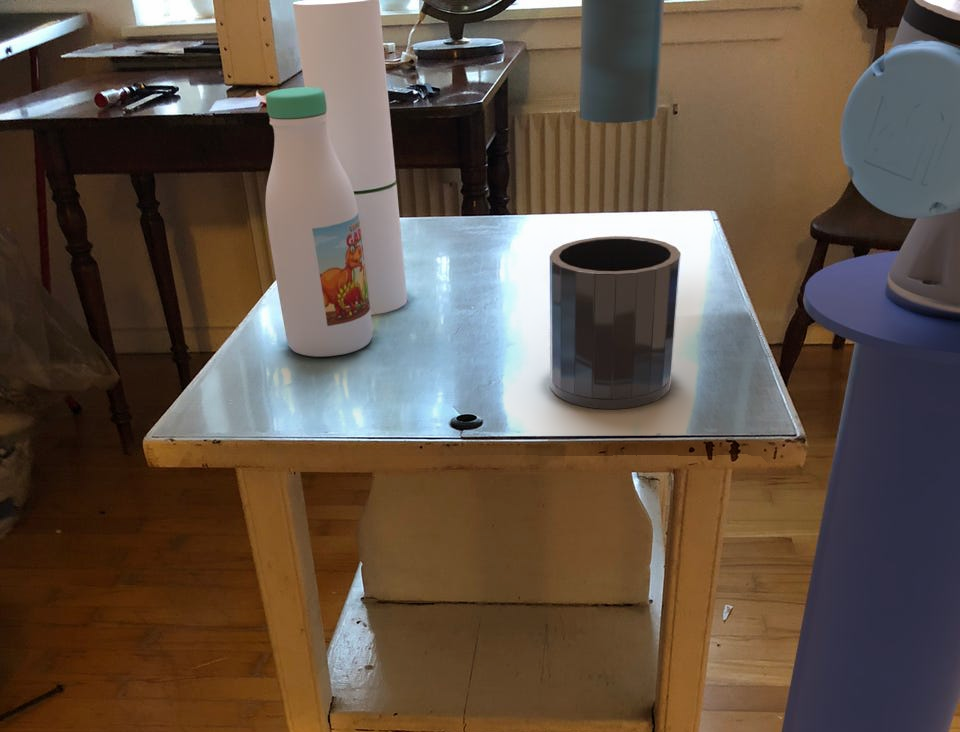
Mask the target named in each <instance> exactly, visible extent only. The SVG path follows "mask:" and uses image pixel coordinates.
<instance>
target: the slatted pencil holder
mask: <svg viewBox="0 0 960 732" xmlns="http://www.w3.org/2000/svg"><path fill="white" fill-rule="evenodd" d="M680 266H681V251H680V250H679V249H678V248H677V247H676V246H675V245H672V244H670V243H668V242H666V241H661V240H658V239H653V238H648V237H639V236H626V235H625V236H623V235H622V236H621V235H614V236H613V235H612V236H598V237H591V238H584V239H579V240H574V241H571V242H567V243H564V244H561V245H560V246H558V247H556V248H555V249H553V250H552V252H551V253H550V255H549V375H550V388H551V390H552V392H553V393H554V395H555V396H557V397H558V398H559V399H561V400H563V401H565V402H567V403H570V404H572V405H576V406H580V407H585V408H591V409H600V410H602V409H604V410H620V409H628V408H629V409H630V408H635V407H640V406H644V405H648V404H651V403H653V402H657V401H658V400H660V399H661V398H663V397H664V396H665V395H666V394H667V393H668V392H669V390H670V388H671V381H672V374H673V364H674V362H673V361H674V349H675V336H676V321H677V320H676V319H677V309H678V296H679V282H680V268H681V267H680Z"/></svg>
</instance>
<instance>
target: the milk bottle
mask: <svg viewBox="0 0 960 732" xmlns="http://www.w3.org/2000/svg"><path fill="white" fill-rule="evenodd" d="M265 104H266V110H267V115H268V116H269V125H270V126H272V129H273V134H274V135H273V136H274V143H273V144H274V145H273V155H272V161H271V164H270V165H271V166H270V170H269V174H268V178H267V183H266V189H265V217H266V223H267V225H266V226H267V232H268V239H269V245H270V252H271V256H272V263H273V270H274V275H275V280H276V286H277V293H278V299H279V305H280V310H281V315H282V321H283V328H284V332H285V337H286V342H287V344H288V346H289V348H290V349H291V350H292V351H293V352H294V353H297V354H298V355H302V356H307V357H318V358H319V357H334V356H341V355H345V354H350V353H353V352H357V351H359V350H361V349H363V348H365V347H366V346H368V345H369V344H370V342H371V340H372V338H373V334H374V331H373V330H374V329H373V320H372V315H371V311H370V302H369V293H368V285H367V277H366V268H365V260H364V252H363V244H362V236H361V228H360V222H359V215H358V209H357V203H356V199H355V195H354V192H353V189H352V186H351V183H350V181H349V179H348V177H347V175H346V173H345V171H344V169H343V167H342V166H341V164H340V162H339V160H338V158H337V156H336V154H335V152H334V150H333V148H332V145H331V142H330V140H329V137H328V134H327V130H326V121H327V120H328V117H327V114H326V110H327V107H326V99H325V94H324V91H323V90H322V89H319V88H313V87H305V86H303V87H289V88H282V89H275V90H272V91H269V92H268V93H267V94H266V95H265Z"/></svg>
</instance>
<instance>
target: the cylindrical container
mask: <svg viewBox="0 0 960 732" xmlns="http://www.w3.org/2000/svg"><path fill="white" fill-rule="evenodd" d="M380 5H381V3H380V0H298V1H294V2H292V8H293V14H294V21H295V28H296V34H297V43H298V50H299V57H300V64H301V72H302V77H303V85H304V86H303V87H313V88H319V89H322V90H323V91H324V94H325V99H326V107H327V110H326V114H327V117H328V120H327V121H326V130H327V134H328V137H329V140H330V142H331V145H332V148H333V150H334V152H335V154H336V156H337V158H338V160H339V162H340V164H341V166H342V167H343V169H344V171H345V173H346V175H347V177H348V179H349V181H350V183H351V186H352V189H353V192H354V195H355V199H356V203H357V209H358V215H359V222H360V228H361V236H362V244H363V252H364V260H365V268H366V277H367V285H368V293H369V302H370V311H371V316H372V315H380V314H385V313H389V312H393V311H396V310H398V309H401V308H402V307H404V306H405V305H406V304H407V302H408V292H407V282H406V271H405V259H404V250H403V241H402V228H401V218H400V209H399V208H400V207H399V199H398V198H399V195H398V186H397V175H396V166H395V165H396V164H395V154H394V144H393V132H392V125H391V124H392V123H391V111H390V100H389V91H388V89H389V88H388V80H387V79H388V78H387V69H386V67H387V66H386V59H385V47H384V36H383V27H382V26H383V25H382V24H383V23H382V15H381V6H380Z"/></svg>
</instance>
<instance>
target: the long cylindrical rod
mask: <svg viewBox="0 0 960 732" xmlns="http://www.w3.org/2000/svg"><path fill="white" fill-rule="evenodd" d="M664 12H665V0H581V15H580V16H581V19H580V20H581V23H580V27H581V28H580V76H579V77H580V79H579V82H580V83H579V84H580V86H579V118H580V119H581V120H583V121H587V122H591V123H600V124H626V123H627V124H629V123H638V122H643V121H644V122H645V121H648V120H651V119H654V118H656V117H657V116H658V111H659V98H660V97H659V94H660V79H661V64H662V63H661V61H662V46H663V44H662V43H663V28H664V15H665V13H664Z"/></svg>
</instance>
